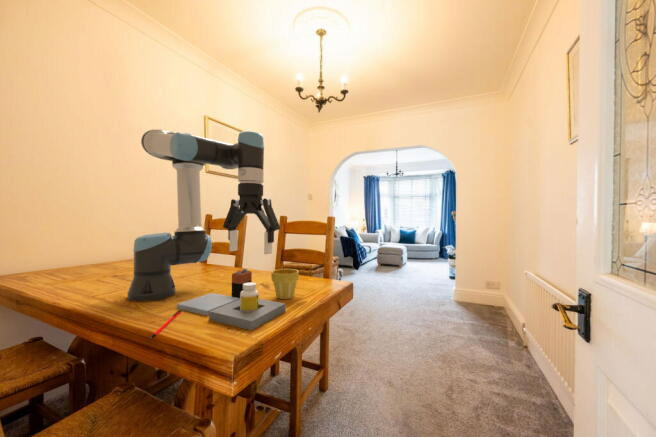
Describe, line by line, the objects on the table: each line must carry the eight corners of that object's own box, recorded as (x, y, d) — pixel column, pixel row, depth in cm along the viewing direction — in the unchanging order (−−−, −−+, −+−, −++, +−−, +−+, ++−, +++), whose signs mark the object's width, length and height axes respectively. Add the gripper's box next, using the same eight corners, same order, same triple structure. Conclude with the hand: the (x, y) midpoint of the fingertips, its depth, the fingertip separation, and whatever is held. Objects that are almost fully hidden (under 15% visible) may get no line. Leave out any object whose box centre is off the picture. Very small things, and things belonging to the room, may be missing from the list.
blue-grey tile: (177, 308, 86) (177, 303, 86) (211, 296, 99) (211, 292, 99) (207, 315, 81) (207, 310, 81) (240, 302, 93) (240, 298, 93)
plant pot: (266, 295, 102) (266, 270, 102) (289, 291, 108) (290, 267, 108) (279, 302, 94) (279, 275, 94) (303, 297, 100) (304, 271, 100)
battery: (251, 294, 103) (252, 268, 103) (240, 299, 97) (240, 272, 97) (242, 293, 105) (243, 267, 105) (230, 297, 98) (231, 271, 98)
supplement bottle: (260, 316, 81) (260, 284, 80) (242, 320, 78) (242, 287, 78) (255, 311, 85) (255, 280, 85) (237, 314, 82) (238, 282, 82)
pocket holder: (209, 319, 78) (209, 311, 77) (247, 303, 92) (247, 296, 92) (251, 330, 71) (251, 321, 71) (285, 311, 85) (285, 303, 85)
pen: (182, 312, 84) (182, 308, 84) (152, 340, 65) (152, 335, 65) (179, 312, 84) (179, 308, 84) (148, 340, 65) (148, 335, 65)
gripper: (211, 183, 83) (211, 251, 83) (277, 179, 72) (276, 256, 73) (229, 186, 90) (229, 248, 90) (291, 183, 79) (291, 253, 79)
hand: (250, 252), depth 81 cm, fingers open, 13 cm apart
